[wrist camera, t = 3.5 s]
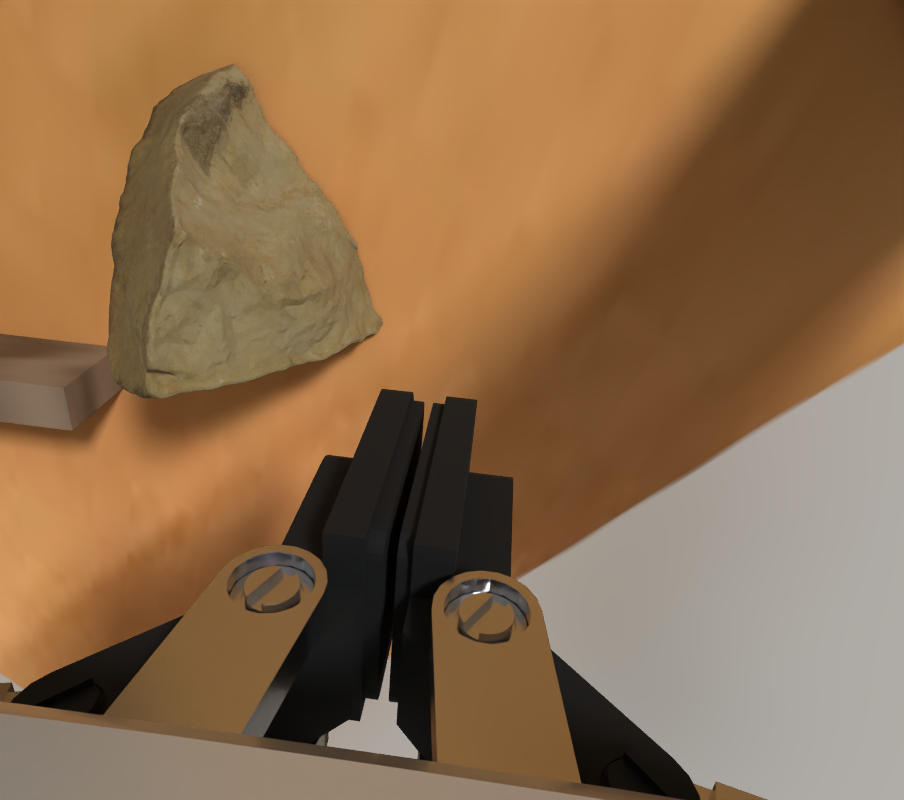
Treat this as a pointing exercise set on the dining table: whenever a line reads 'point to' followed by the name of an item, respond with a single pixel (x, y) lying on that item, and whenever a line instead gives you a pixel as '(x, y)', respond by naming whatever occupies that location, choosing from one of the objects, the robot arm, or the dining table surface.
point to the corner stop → (52, 381)
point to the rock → (225, 251)
